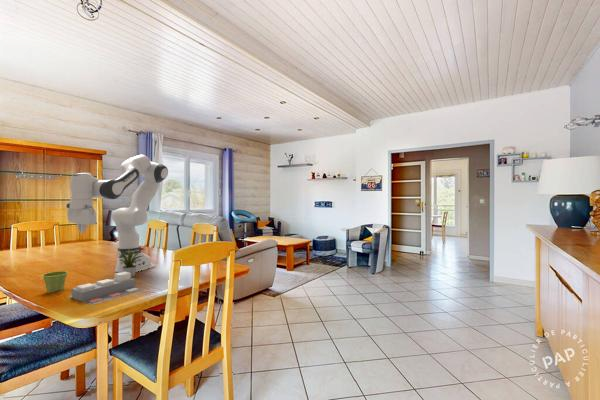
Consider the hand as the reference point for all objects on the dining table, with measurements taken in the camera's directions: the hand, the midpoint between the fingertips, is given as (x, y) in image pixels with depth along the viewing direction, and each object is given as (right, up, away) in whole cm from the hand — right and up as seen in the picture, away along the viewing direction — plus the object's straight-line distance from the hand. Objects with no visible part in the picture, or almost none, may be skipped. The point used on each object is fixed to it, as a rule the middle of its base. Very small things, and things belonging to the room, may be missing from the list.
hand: (82, 232), depth 140 cm
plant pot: (-9, -28, -5) cm, 30 cm away
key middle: (+17, -27, -8) cm, 33 cm away
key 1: (+13, -27, -15) cm, 34 cm away
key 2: (+21, -25, -1) cm, 33 cm away
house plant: (+12, -28, +19) cm, 36 cm away
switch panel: (+19, -29, -9) cm, 35 cm away
